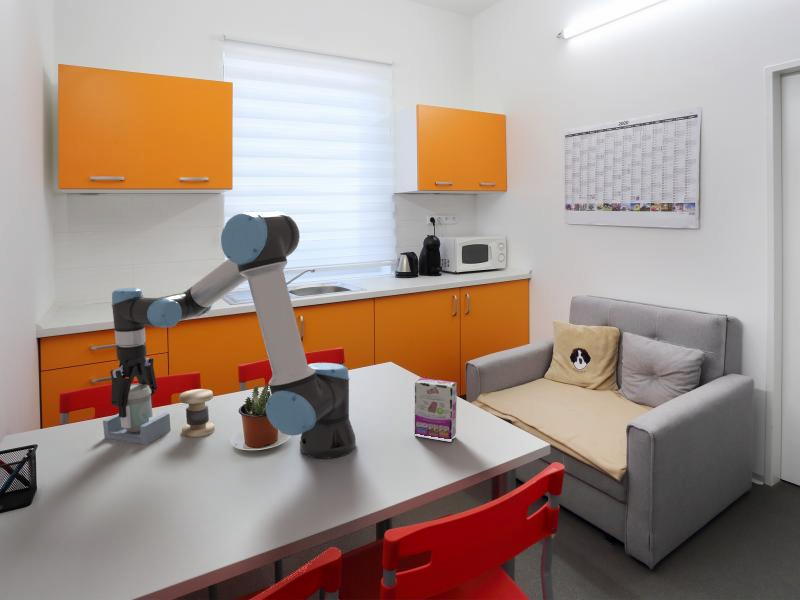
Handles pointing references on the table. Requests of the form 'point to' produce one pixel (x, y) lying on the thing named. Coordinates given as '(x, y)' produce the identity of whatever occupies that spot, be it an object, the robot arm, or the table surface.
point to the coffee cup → (138, 406)
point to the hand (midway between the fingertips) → (137, 421)
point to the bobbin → (197, 413)
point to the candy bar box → (435, 408)
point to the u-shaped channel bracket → (143, 436)
